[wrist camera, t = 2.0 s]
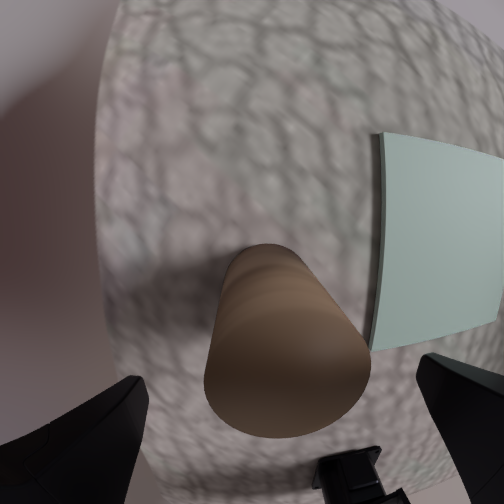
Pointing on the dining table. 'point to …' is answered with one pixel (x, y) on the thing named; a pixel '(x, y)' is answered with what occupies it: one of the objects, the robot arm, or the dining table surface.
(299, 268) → the brown rounded cylinder
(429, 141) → the card
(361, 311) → the dining table surface
